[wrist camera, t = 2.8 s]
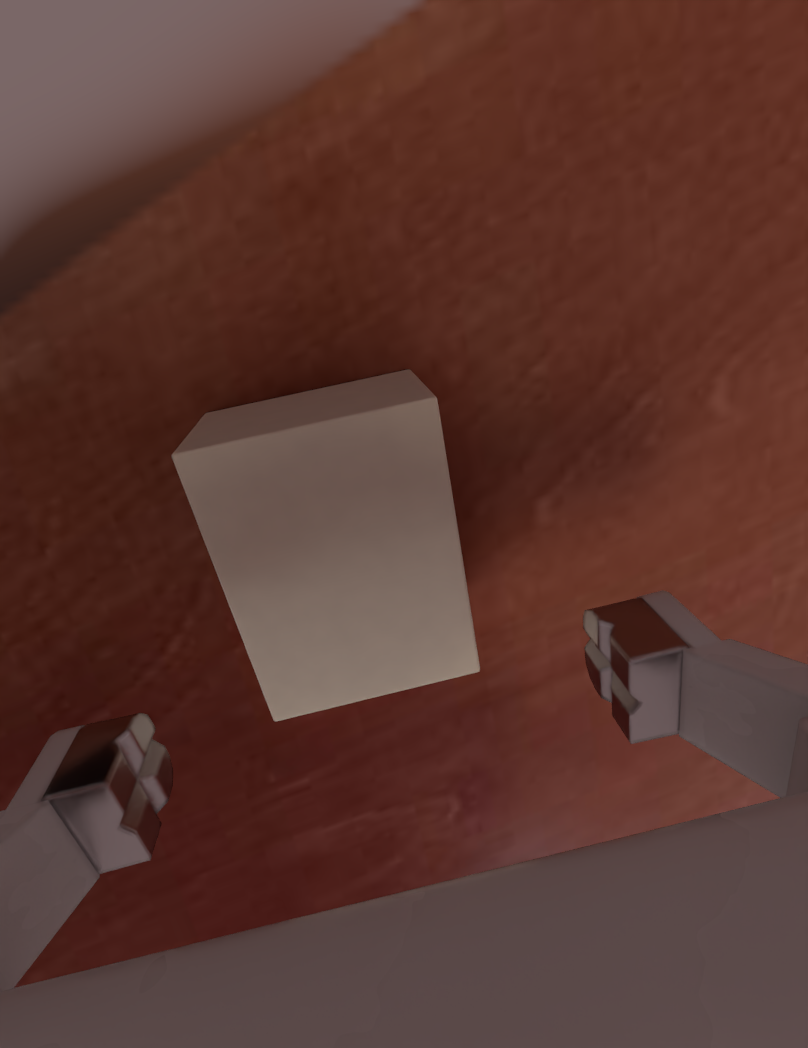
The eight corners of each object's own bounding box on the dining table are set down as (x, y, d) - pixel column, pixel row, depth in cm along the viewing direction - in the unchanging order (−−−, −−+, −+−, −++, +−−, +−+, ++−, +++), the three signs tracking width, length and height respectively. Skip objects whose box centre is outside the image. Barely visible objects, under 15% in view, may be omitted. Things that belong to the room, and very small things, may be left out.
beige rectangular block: (282, 637, 19) (273, 723, 15) (204, 412, 16) (169, 455, 12) (450, 597, 19) (481, 672, 16) (410, 368, 16) (437, 396, 12)
